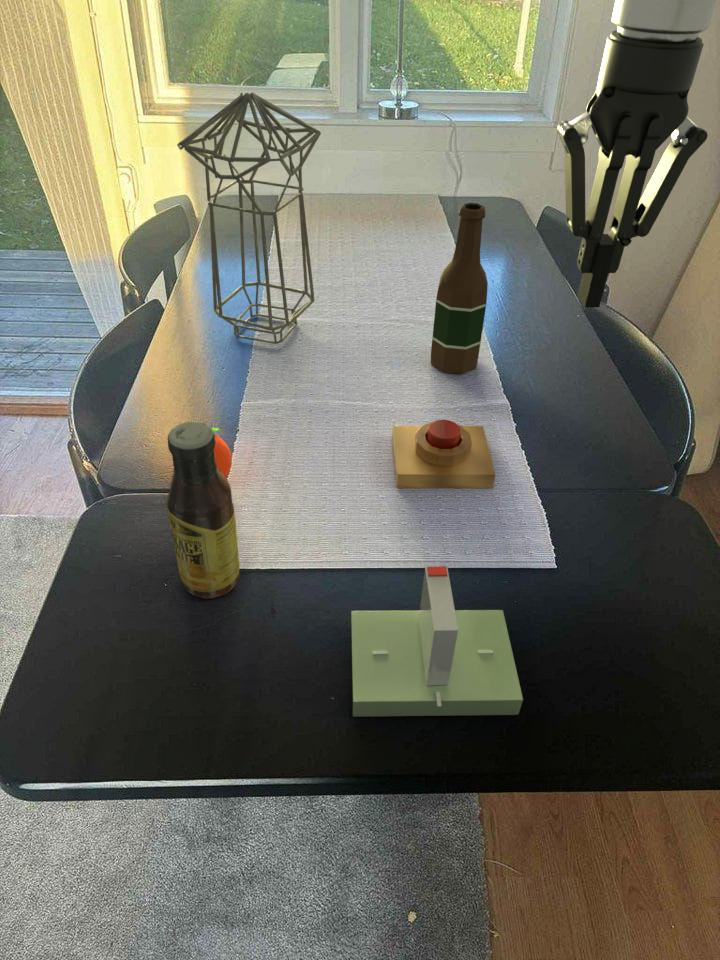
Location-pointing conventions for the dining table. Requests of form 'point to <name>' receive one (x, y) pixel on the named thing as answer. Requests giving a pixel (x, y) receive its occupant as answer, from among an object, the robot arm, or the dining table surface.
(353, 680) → the plate
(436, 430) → the button
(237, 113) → the geometric lantern
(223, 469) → the clementine
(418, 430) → the button block
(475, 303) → the beer bottle
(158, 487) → the dining table surface
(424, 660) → the grey upright flat block
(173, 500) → the sauce bottle
